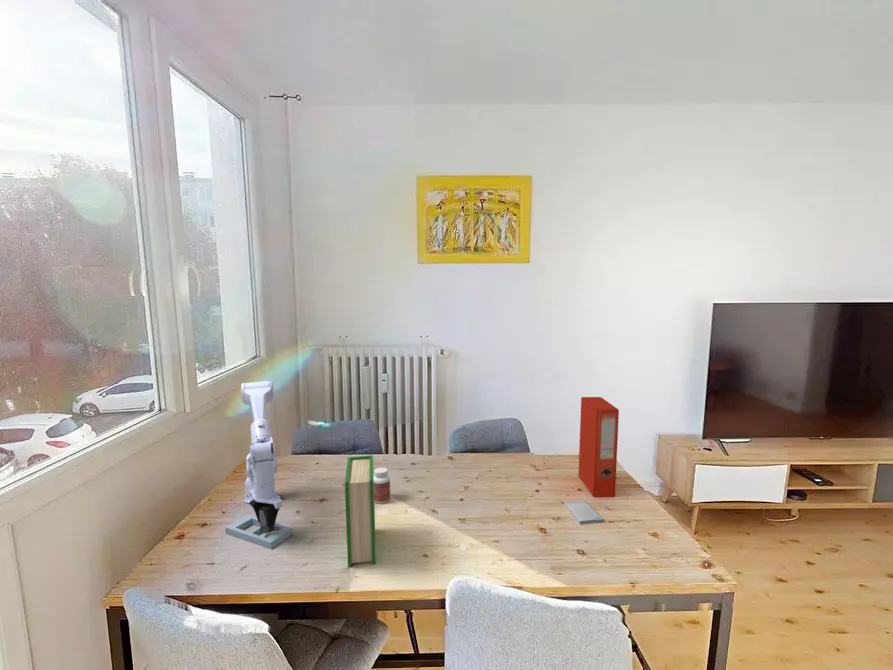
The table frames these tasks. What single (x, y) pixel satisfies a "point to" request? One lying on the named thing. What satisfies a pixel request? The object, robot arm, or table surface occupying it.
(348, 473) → the hardback book
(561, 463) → the table surface
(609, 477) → the file binder
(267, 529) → the peg
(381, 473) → the pill bottle
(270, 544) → the grey double-hole frame
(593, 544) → the table surface
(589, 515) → the hard drive
